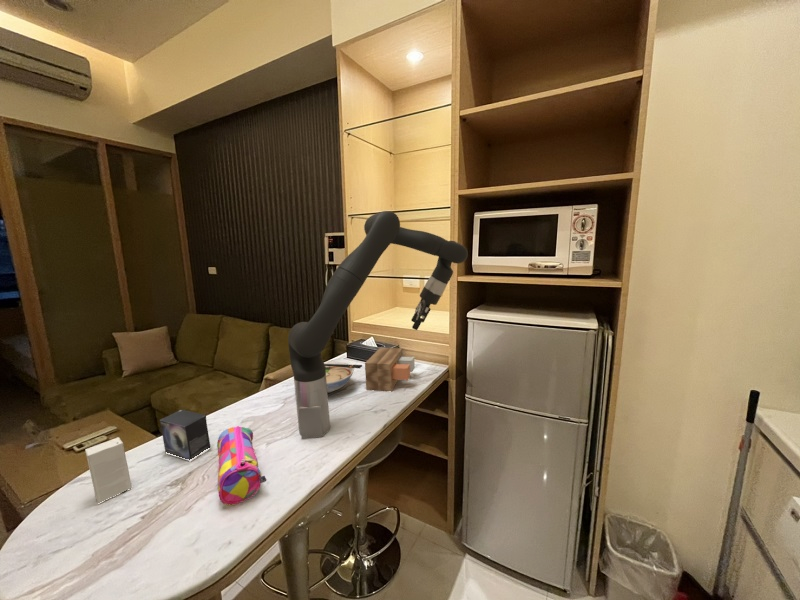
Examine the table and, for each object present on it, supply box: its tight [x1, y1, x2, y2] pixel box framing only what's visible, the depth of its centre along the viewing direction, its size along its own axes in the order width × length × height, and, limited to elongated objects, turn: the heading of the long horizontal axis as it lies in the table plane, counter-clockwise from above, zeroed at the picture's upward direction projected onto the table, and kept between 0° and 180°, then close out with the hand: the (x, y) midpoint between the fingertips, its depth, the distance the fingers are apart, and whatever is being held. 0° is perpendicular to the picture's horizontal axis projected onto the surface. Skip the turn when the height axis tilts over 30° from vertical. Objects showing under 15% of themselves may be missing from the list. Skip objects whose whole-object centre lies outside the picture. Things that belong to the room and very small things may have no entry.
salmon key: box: [392, 364, 411, 382], centre depth 124 cm, size 7×5×5 cm
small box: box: [159, 409, 212, 460], centre depth 87 cm, size 11×6×10 cm, turn 68°
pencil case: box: [216, 425, 268, 506], centre depth 76 cm, size 22×9×9 cm, turn 32°
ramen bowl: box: [324, 361, 363, 394], centre depth 124 cm, size 25×23×8 cm
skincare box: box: [84, 436, 133, 504], centre depth 72 cm, size 6×4×12 cm
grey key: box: [398, 356, 416, 373], centre depth 133 cm, size 7×5×5 cm
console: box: [364, 347, 403, 392], centre depth 130 cm, size 10×20×11 cm, turn 166°
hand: (413, 325), depth 125 cm, fingers open, 8 cm apart
